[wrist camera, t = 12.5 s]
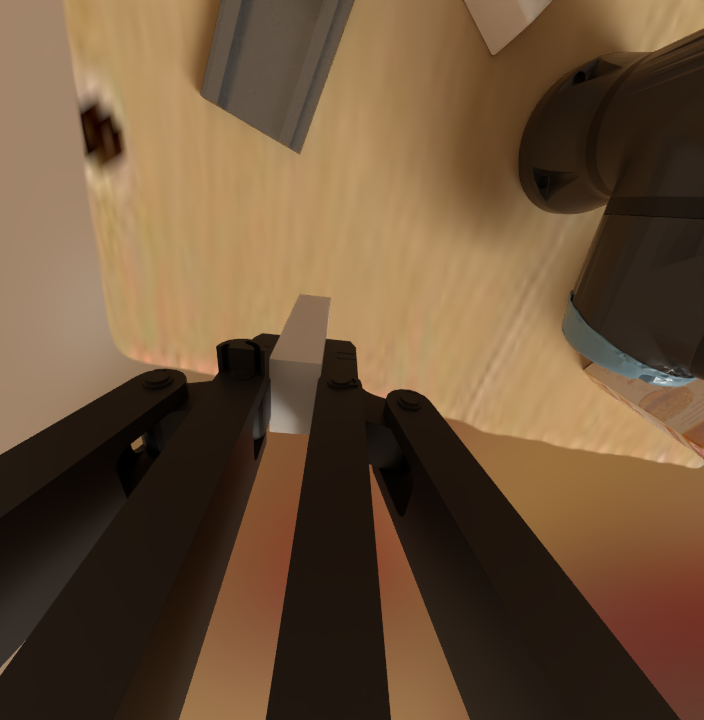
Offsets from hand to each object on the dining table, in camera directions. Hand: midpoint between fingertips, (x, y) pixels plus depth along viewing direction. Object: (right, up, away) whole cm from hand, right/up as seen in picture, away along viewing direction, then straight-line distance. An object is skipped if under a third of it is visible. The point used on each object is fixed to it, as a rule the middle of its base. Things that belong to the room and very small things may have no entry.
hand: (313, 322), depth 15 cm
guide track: (-4, +33, +14) cm, 36 cm away
